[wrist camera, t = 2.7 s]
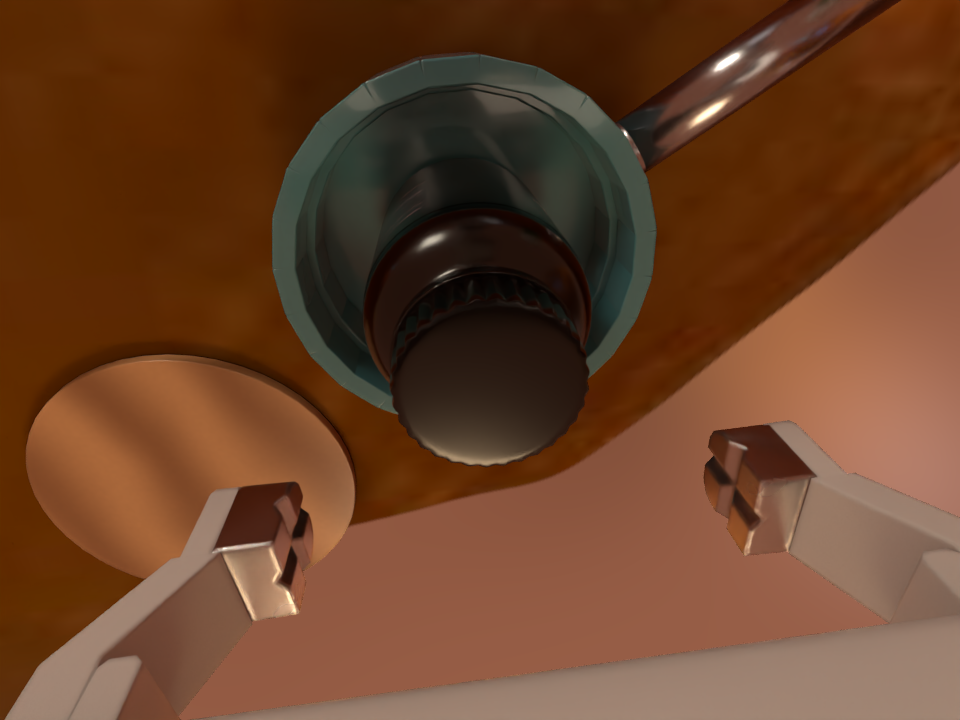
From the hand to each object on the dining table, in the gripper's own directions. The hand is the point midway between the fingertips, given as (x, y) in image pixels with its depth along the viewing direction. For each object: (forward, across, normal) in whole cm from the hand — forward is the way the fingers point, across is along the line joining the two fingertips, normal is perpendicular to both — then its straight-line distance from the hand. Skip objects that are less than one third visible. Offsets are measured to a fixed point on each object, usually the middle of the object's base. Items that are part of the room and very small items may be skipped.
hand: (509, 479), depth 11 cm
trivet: (+15, +15, +12) cm, 24 cm away
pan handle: (+12, -10, -6) cm, 17 cm away
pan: (+15, 0, 0) cm, 15 cm away
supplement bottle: (+15, 0, 0) cm, 15 cm away
